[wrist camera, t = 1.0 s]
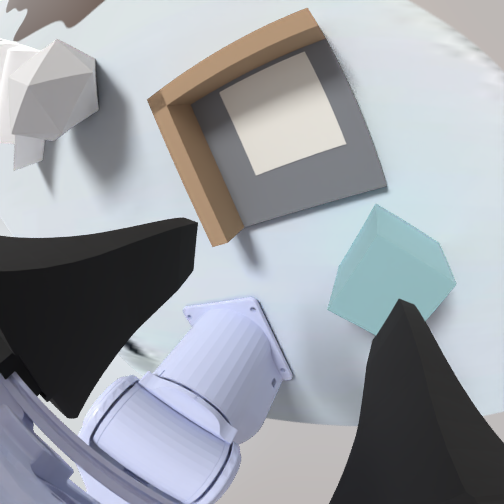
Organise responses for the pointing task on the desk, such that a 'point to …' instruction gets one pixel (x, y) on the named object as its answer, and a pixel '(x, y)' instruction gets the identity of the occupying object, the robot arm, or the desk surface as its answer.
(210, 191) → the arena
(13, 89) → the die
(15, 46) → the file organizer
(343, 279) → the cube
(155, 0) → the desk surface
